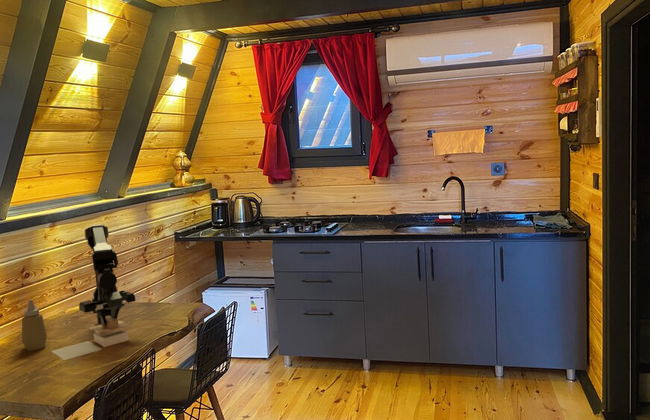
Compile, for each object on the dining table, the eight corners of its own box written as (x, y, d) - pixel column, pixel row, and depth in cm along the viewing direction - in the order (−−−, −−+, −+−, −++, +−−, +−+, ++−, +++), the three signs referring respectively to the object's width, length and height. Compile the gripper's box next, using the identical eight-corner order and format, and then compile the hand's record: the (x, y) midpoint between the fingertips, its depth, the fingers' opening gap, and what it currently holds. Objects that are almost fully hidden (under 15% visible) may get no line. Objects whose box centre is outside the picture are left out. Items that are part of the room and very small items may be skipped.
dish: (94, 342, 211) (93, 333, 211) (118, 335, 217) (117, 326, 217) (104, 348, 205) (103, 338, 204) (128, 341, 211) (127, 332, 210)
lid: (89, 329, 211) (88, 319, 210) (118, 321, 218) (117, 312, 218) (101, 336, 203) (100, 325, 202) (131, 328, 210) (130, 317, 210)
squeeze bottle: (23, 354, 202) (17, 304, 200) (23, 347, 209) (17, 299, 207) (48, 349, 206) (43, 300, 203) (47, 343, 213) (42, 295, 211)
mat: (51, 352, 203) (50, 350, 203) (88, 342, 212) (88, 340, 212) (64, 361, 193) (64, 360, 193) (102, 350, 202) (102, 349, 202)
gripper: (88, 292, 196) (93, 336, 198) (140, 281, 209) (144, 322, 211) (76, 286, 204) (80, 329, 206) (127, 276, 217) (130, 316, 219)
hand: (109, 324), depth 210 cm, fingers closed on lid, 3 cm apart
